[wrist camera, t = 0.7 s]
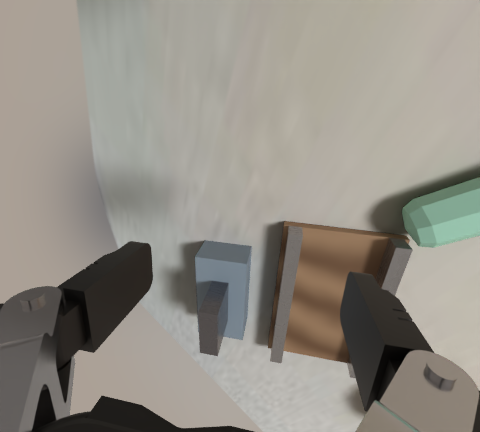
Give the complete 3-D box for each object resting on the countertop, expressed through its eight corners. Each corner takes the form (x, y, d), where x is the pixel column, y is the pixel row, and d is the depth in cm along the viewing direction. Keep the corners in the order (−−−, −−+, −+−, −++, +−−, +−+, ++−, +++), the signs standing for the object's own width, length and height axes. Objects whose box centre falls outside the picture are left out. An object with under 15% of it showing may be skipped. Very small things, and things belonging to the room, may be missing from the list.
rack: (284, 221, 30) (283, 233, 27) (405, 235, 28) (418, 250, 25) (268, 341, 38) (266, 360, 35) (360, 359, 36) (366, 380, 34)
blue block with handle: (205, 239, 33) (177, 285, 25) (251, 245, 32) (238, 295, 24) (207, 309, 38) (184, 366, 30) (247, 316, 37) (234, 377, 29)
